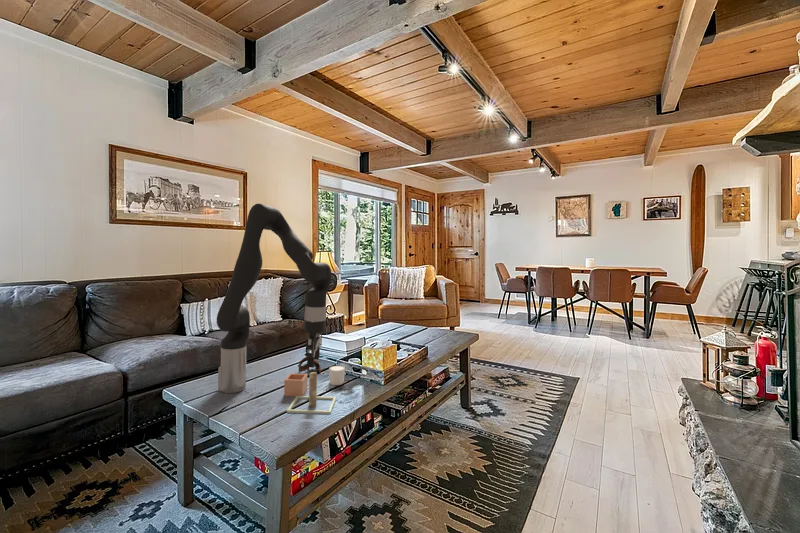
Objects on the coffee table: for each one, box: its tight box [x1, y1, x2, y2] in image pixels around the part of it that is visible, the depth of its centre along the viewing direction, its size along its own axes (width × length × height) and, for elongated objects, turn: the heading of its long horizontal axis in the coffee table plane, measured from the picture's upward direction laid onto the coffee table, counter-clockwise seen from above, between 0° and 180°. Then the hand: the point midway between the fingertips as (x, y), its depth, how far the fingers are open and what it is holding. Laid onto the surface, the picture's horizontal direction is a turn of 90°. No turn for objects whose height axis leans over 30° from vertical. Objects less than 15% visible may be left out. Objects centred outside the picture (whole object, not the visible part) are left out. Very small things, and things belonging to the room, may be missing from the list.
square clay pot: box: [283, 372, 309, 397], centre depth 137 cm, size 7×7×7 cm
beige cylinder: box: [328, 365, 346, 386], centre depth 148 cm, size 7×7×7 cm
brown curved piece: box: [297, 356, 322, 374], centre depth 162 cm, size 12×10×8 cm
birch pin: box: [308, 371, 318, 408], centre depth 126 cm, size 3×3×12 cm
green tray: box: [286, 395, 337, 415], centre depth 126 cm, size 15×12×2 cm
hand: (313, 363), depth 125 cm, fingers open, 8 cm apart
